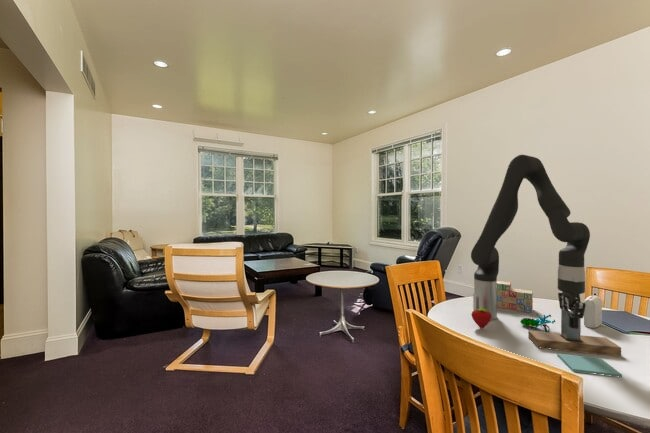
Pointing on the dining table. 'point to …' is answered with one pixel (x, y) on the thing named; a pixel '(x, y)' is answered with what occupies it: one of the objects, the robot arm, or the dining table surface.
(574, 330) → the steel plug
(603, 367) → the teal pad
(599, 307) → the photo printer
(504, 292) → the stack of blocks
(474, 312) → the strawberry
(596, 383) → the dining table surface
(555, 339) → the brown slotted block
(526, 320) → the stick construction toy
